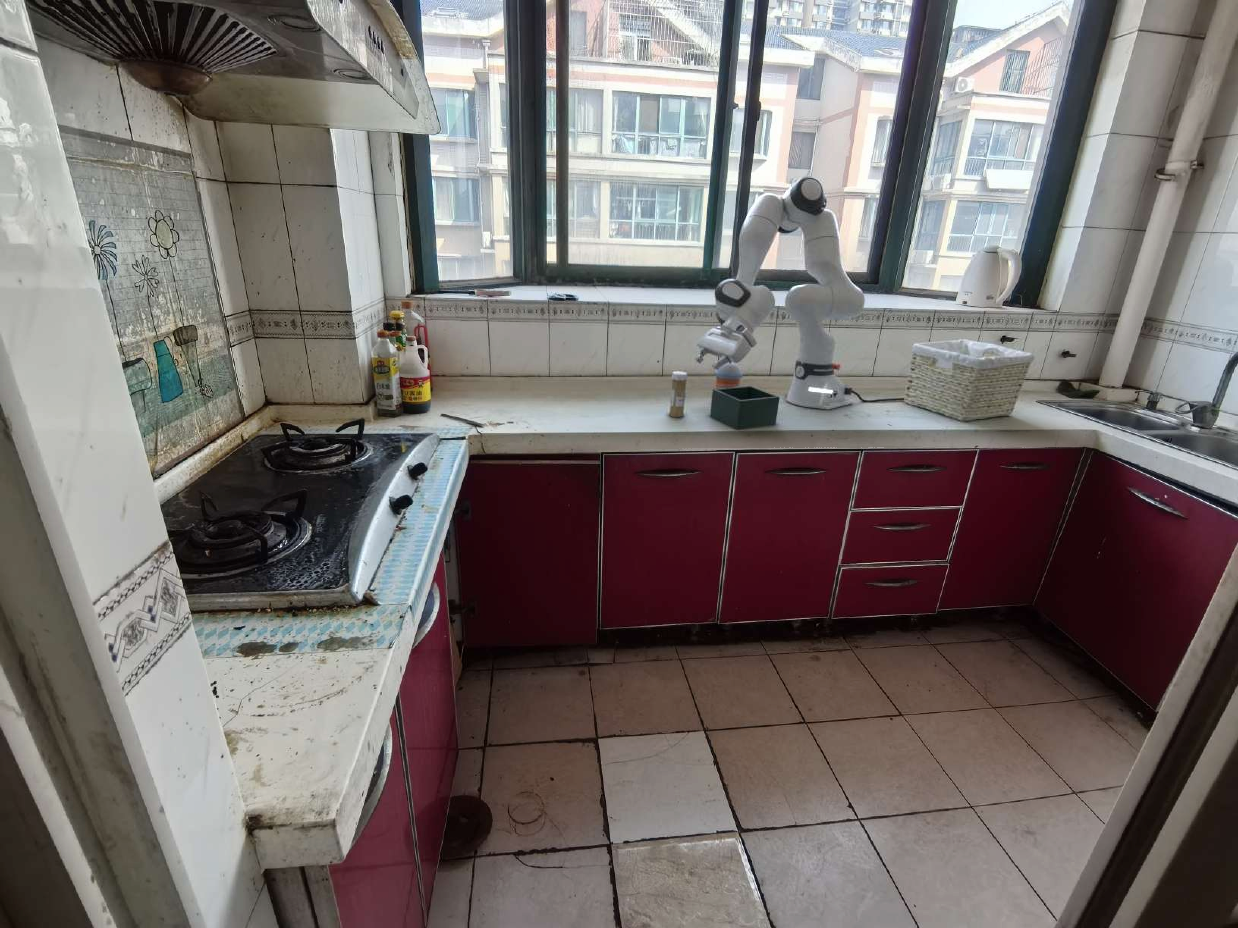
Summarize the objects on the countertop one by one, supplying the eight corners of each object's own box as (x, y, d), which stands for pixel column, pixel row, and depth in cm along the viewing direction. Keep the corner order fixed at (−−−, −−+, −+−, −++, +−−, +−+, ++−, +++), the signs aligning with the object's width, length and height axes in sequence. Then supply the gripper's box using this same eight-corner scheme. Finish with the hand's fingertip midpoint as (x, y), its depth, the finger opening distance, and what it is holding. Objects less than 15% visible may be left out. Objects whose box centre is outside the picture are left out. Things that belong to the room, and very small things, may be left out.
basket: (963, 425, 187) (982, 356, 179) (895, 401, 209) (910, 340, 201) (1019, 417, 197) (1039, 352, 189) (948, 396, 220) (964, 337, 212)
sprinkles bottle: (681, 418, 180) (685, 375, 175) (667, 416, 181) (670, 373, 176) (684, 414, 184) (688, 371, 179) (670, 412, 185) (674, 370, 180)
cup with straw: (738, 408, 193) (745, 353, 186) (710, 405, 194) (716, 351, 187) (739, 401, 201) (745, 348, 194) (712, 398, 203) (717, 346, 196)
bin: (747, 411, 190) (750, 385, 187) (775, 424, 179) (779, 396, 175) (709, 416, 184) (712, 389, 180) (736, 429, 172) (740, 401, 169)
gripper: (710, 319, 189) (682, 351, 189) (750, 330, 172) (719, 365, 172) (720, 332, 193) (692, 364, 192) (760, 344, 176) (729, 379, 175)
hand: (705, 364), depth 182 cm, fingers open, 8 cm apart
